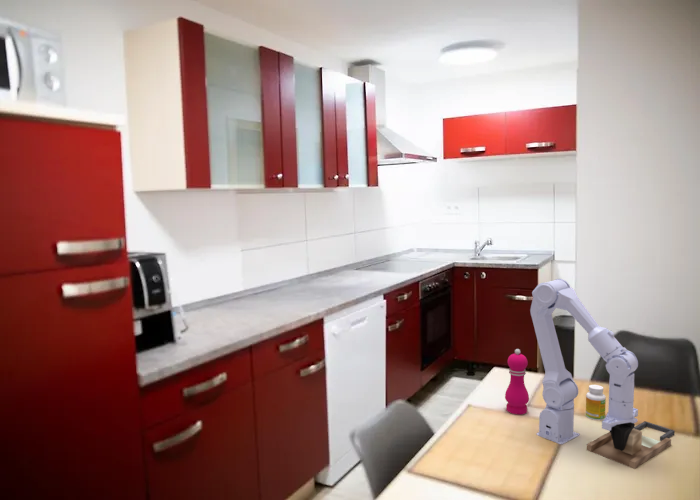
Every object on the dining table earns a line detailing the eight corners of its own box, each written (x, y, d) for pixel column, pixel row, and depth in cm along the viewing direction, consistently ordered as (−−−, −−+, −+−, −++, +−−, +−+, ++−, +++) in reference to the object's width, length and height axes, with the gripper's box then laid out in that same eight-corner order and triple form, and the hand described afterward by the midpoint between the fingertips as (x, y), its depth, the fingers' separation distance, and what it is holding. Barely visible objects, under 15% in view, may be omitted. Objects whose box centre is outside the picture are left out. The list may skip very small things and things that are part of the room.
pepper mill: (531, 415, 164) (533, 352, 162) (508, 415, 164) (509, 352, 162) (524, 406, 171) (525, 345, 169) (502, 406, 171) (502, 345, 169)
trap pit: (662, 442, 145) (663, 437, 144) (633, 432, 151) (633, 427, 151) (674, 435, 149) (674, 430, 149) (644, 426, 155) (644, 421, 155)
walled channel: (634, 470, 131) (634, 462, 131) (586, 451, 141) (586, 444, 141) (670, 446, 143) (671, 439, 142) (624, 430, 152) (624, 423, 152)
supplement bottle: (602, 423, 158) (603, 391, 157) (583, 418, 161) (584, 387, 160) (606, 416, 162) (607, 386, 161) (587, 412, 165) (588, 382, 164)
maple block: (632, 455, 137) (632, 436, 137) (612, 447, 141) (613, 429, 141) (641, 449, 140) (642, 431, 140) (622, 442, 144) (623, 424, 144)
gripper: (622, 410, 129) (620, 463, 131) (650, 396, 138) (648, 446, 139) (594, 401, 135) (593, 452, 137) (623, 388, 144) (621, 436, 145)
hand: (619, 448), depth 138 cm, fingers closed
